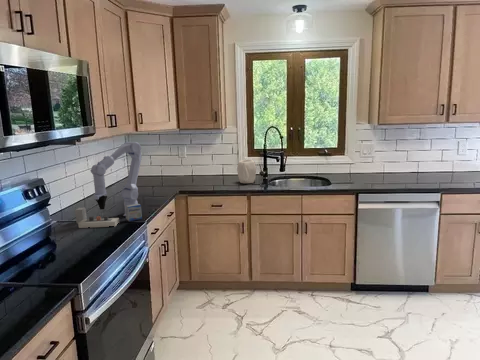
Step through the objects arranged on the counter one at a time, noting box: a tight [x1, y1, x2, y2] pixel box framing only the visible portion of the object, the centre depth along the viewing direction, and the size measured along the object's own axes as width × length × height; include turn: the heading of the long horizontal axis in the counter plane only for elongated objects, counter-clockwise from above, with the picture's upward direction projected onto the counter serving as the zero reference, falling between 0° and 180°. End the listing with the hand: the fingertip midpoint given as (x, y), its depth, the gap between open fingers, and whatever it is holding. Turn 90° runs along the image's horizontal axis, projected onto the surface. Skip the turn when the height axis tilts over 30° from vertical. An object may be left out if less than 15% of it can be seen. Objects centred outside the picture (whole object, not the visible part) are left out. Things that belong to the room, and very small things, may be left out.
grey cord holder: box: [74, 207, 88, 225], centre depth 215 cm, size 5×4×8 cm
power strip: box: [77, 217, 120, 229], centre depth 208 cm, size 7×20×3 cm, turn 91°
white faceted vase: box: [236, 159, 257, 184], centre depth 314 cm, size 16×27×19 cm, turn 169°
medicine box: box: [124, 203, 143, 222], centre depth 216 cm, size 8×4×9 cm, turn 126°
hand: (102, 209), depth 213 cm, fingers closed
